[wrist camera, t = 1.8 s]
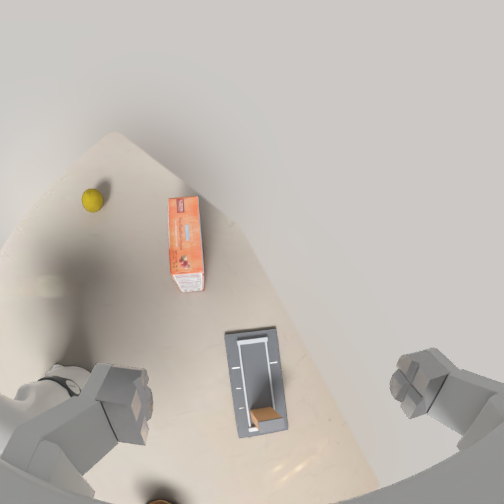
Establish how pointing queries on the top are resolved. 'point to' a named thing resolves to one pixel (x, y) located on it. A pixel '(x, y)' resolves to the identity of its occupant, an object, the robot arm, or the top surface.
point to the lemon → (92, 200)
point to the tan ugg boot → (159, 502)
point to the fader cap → (267, 419)
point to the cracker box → (185, 243)
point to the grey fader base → (255, 377)
